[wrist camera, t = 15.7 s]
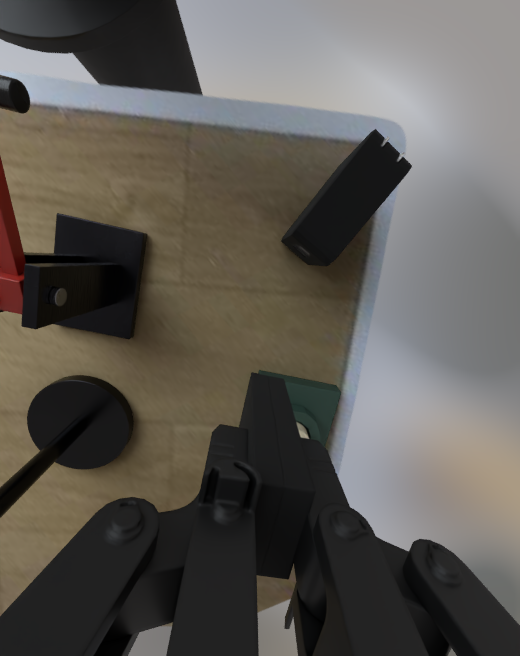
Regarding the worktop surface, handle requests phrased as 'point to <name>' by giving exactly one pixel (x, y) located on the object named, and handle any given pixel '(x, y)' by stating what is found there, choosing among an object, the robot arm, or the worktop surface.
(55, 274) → the stand
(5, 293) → the switch lever
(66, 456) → the desk lamp
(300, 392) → the timer box
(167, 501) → the worktop surface
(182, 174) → the worktop surface
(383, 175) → the electronic device
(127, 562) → the robot arm
